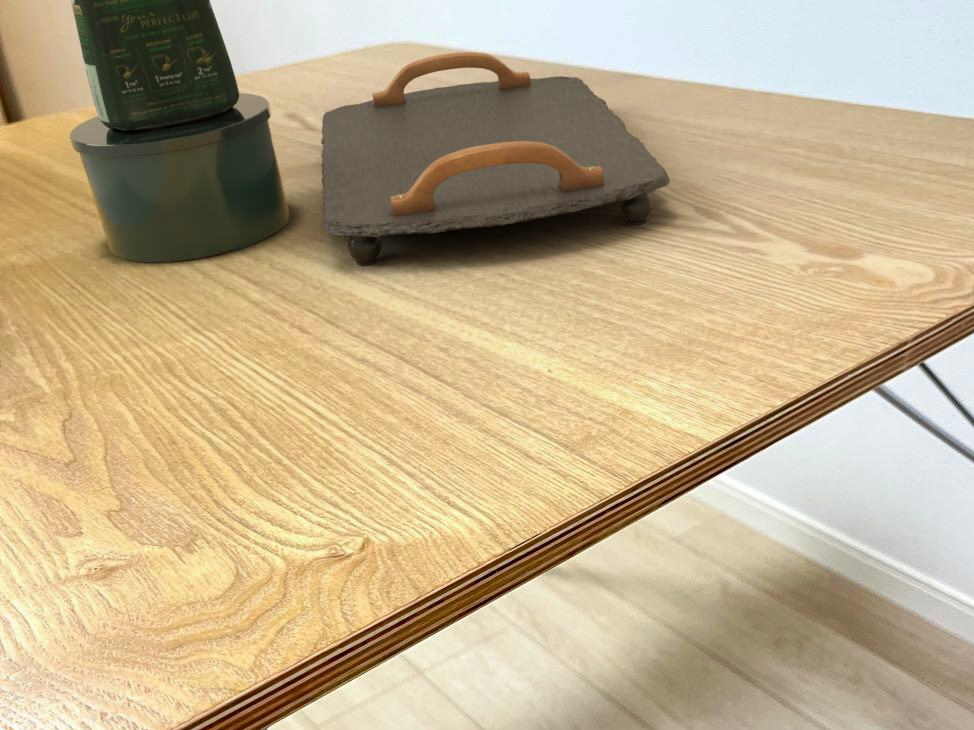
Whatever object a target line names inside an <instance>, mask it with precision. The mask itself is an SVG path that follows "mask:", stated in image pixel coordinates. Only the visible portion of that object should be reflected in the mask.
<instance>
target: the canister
mask: <svg viewBox="0 0 974 730" xmlns="http://www.w3.org/2000/svg"><path fill="white" fill-rule="evenodd" d="M271 117H272V110H271V105H270V102H269V101H268V99H267V98H265V97H263V96H261V95H257V94H254V93H253V94H252V93H245V92H239V99H238V101H237V103H236V104H235V105H234V106H233V107H230V108H229V109H228V110H226V111H224V112H221V113H219V114H215V115H212V116H209V117H206V118H203V119H198V120H195V121H191V122H188V123H182V124H176V125H169V126H166V127H161V128H155V129H148V130H146V129H139V130H120V129H116V128H115V129H110V128H108V127H106V126H105V125H104V124H103V123H102V122H101V121H100V119H99V117H98V115H97V116H94V117H92V118H89V119H87V120H85V121H84V122H81V123H80V124H78V125H77V126H75V127H74V128H73V129H71V130H70V132H69V140H70V143H71V146H72V148H73V151H75V152H77V153H79V156H80V159H81V163H82V166H83V169H84V172H85V175H86V179H87V181H88V185H89V188H90V192H91V194H92V198H93V201H94V203H95V204H94V205H95V208H96V210H97V213H98V216H99V219H100V222H101V226H102V229H103V232H104V236H105V238H106V242H107V245H108V248H109V250H110V252H111V253H112V254H113V255H114V256H116V257H118V258H120V259H123V260H127V261H132V262H138V263H139V262H141V263H170V262H172V263H173V262H182V261H191V260H196V259H203V258H208V257H212V256H217V255H222V254H225V253H229V252H233V251H236V250H240V249H242V248H245V247H249V246H251V245H253V244H256V243H258V242H261V241H263V240H265V239H267V238H269V237H271V236H273V235H274V234H276V233H277V232H279V231H281V230H282V229H283V228H284V227H285V226H286V224H287V223H288V222H289V220H290V212H289V206H288V202H287V198H286V193H285V190H284V188H285V187H284V184H283V180H282V175H281V170H280V166H279V162H278V161H279V160H278V158H277V153H276V152H277V151H276V149H275V148H276V147H275V144H274V139H273V134H272V131H271V125H270V121H269V120H270V118H271Z"/></svg>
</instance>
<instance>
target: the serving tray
mask: <svg viewBox="0 0 974 730" xmlns="http://www.w3.org/2000/svg"><path fill="white" fill-rule="evenodd" d="M456 69H484V70H487V71H490V72H493V73H494V74H495V75H496V76H497V80H495V81H481V82H473V83H464V84H456V85H449V86H442V87H434V88H428V89H421V90H417V91H411V92H407V93H405V88H406V87H407V85H409V83H411V82H412V81H413V80H415V79H417V78H420V77H422V76H425V75H430V74H433V73H437V72H442V71H448V70H456ZM321 124H322V127H321V134H322V135H321V136H322V138H321V139H320V140H321V141H320V144H321V146H322V151H321V155H320V156H321V159H322V161H321V165H320V166H321V175H322V177H321V184H322V191H321V193H322V228H323V230H324V231H325V233H326V234H327V235H330V236H343V237H344V238H347V237H349V238H348V241H347V251H348V253H349V255H350V257H351V259H353V261H355V263H356V264H357V265H359V266H370V265H374V264H376V263H377V262H378V260H379V258H378V257H379V256H380V254H381V250H382V244H381V240H380V238H381V237H386V236H397V235H415V234H436V233H445V232H450V231H456V230H465V229H476V228H490V227H497V226H504V225H509V224H517V223H524V222H528V221H533V220H538V219H545V218H549V217H553V216H558V215H564V214H570V213H575V212H579V211H584V210H587V209H593V208H596V207H600V206H604V205H608V204H612V203H616V202H620V203H619V208H620V214H621V215H622V217H623V218H624V219H625V220H626V223H627V224H628V225H635V226H636V225H643V224H645V223H647V222H648V221H649V219H648V218H649V217H650V216H651V214H652V211H653V200H652V197H651V195H650V194H649V193H651V192H655V191H656V190H660V189H662V188H664V187H667V186H668V185H669V184H670V177H669V174H668V173H667V170H666V169H665V167H664V166H662V165H661V164H660V163H659V162H658V161H657V158H656V157H655V156H654V155H652V154H651V153H650V152H649V150H648V149H647V148H646V146H645V145H644V143H643V142H642V141H641V139H639V137H636V136H635V135H633V134H632V133H631V132H629V131H628V130H627V128H626V124H625V122H624V121H623V120H622V119H621V117H620V116H619V115H617V114H615V113H614V112H613V110H611V109H610V108H609V106H608V104H607V102H606V100H604V99H603V98H601V97H599V96H598V95H597V94H595V92H594V91H593V90H591V88H590V87H589V86H588V85H587V84H586V83H585V82H584V81H583V80H582V78H578V77H577V76H575V77H574V76H573V77H572V76H571V77H569V76H548V77H543V78H542V77H541V78H531V74H530V72H528V71H520V72H516V71H513V69H511V68H510V67H508V65H506V64H505V63H504V62H503V61H501V60H500V59H499V58H497V57H495V56H493V55H491V54H490V53H489V54H488V53H485V52H474V51H460V52H459V51H458V52H450V53H444V54H443V53H442V54H437V55H432V56H427V57H424V58H421V59H417V60H415V61H412V62H410V63H408V64H406V65H405V66H404V67H402V69H400V70H399V71H398V73H396V75H395V76H394V77H393V79H392V80H391V82H390V83H389V85H388V86H387V87H386V89H384V90H382V91H377V92H372V100H368V101H364V102H361V103H354V104H348V105H347V104H346V105H343V106H339V107H336V108H334V109H332V110H329V111H325V112H324V114H323V116H322V123H321Z"/></svg>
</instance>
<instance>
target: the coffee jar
mask: <svg viewBox="0 0 974 730" xmlns="http://www.w3.org/2000/svg"><path fill="white" fill-rule="evenodd" d="M70 3H71V8H72V12H73V17H74V22H75V27H76V31H77V35H78V39H79V44H80V50H81V53H82V58H83V63H84V67H85V73H86V76H87V77H86V78H87V81H88V85H89V90H90V93H91V97H92V100H93V104H94V107H95V111H96V114H97V116H98V117H99V119H100V121H101V122H102V123H103V124H104V125H105V126H106V127H108V128H110V129H115V128H116V129H120V130H139V129H146V130H148V129H155V128H161V127H166V126H169V125H176V124H182V123H188V122H191V121H195V120H198V119H203V118H206V117H209V116H212V115H215V114H219V113H221V112H224V111H226V110H228V109H229V108H230V107H233V106H234V105H235V104H236V103H237V101H238V99H239V93H240V90H239V86H238V82H237V78H236V75H235V72H234V69H233V65H232V62H231V58H230V56H229V53H228V50H227V47H226V43H225V41H224V38H223V34H222V32H221V29H220V26H219V24H218V21H217V18H216V15H215V12H214V10H213V7H212V4H211V0H70Z"/></svg>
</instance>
